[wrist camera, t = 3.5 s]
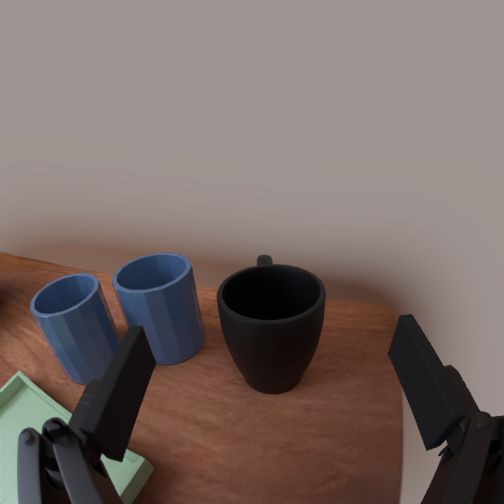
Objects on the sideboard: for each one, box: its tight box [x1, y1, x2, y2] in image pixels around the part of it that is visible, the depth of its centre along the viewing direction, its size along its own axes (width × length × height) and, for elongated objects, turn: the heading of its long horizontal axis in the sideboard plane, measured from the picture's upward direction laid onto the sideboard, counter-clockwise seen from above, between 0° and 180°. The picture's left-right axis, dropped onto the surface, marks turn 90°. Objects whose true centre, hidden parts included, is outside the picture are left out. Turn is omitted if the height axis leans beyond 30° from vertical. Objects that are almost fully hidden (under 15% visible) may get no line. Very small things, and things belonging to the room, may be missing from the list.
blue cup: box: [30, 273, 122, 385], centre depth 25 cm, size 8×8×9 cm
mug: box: [217, 255, 326, 394], centre depth 25 cm, size 8×12×10 cm
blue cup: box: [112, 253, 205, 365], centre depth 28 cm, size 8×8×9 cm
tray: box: [0, 371, 155, 504], centre depth 11 cm, size 19×16×2 cm
